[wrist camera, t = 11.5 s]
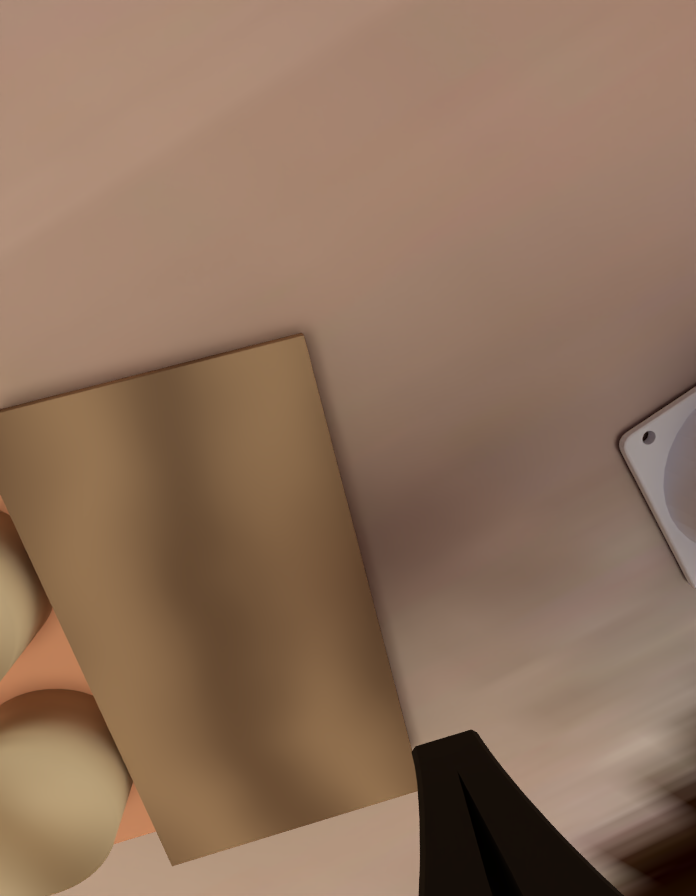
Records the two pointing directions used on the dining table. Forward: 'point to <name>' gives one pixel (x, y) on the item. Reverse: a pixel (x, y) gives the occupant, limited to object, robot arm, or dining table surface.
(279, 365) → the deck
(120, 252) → the dining table surface
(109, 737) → the coaster
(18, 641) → the coaster
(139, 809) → the mat
